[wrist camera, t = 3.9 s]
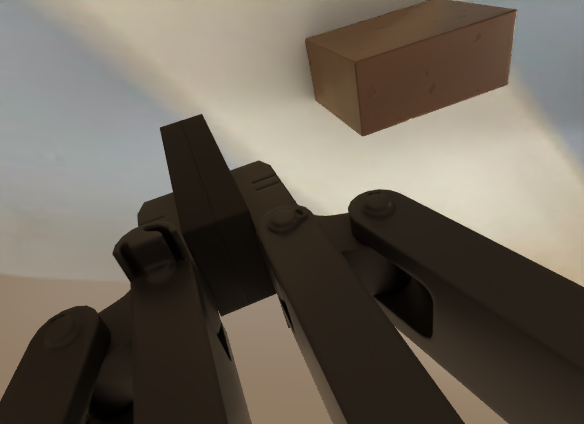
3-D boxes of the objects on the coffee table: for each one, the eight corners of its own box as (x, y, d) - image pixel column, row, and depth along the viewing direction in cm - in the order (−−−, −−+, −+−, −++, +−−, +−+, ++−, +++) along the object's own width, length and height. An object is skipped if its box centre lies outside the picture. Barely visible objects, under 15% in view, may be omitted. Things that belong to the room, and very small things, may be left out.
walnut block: (304, 38, 18) (354, 62, 14) (437, -3, 19) (518, 9, 15) (315, 101, 20) (362, 137, 16) (436, 60, 21) (508, 84, 17)
